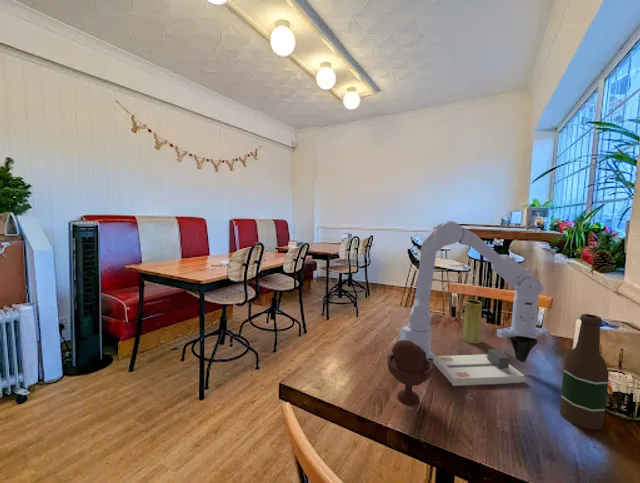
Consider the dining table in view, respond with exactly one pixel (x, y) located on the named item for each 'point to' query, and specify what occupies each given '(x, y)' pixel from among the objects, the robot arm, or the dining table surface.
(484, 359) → the fader panel
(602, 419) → the beer bottle
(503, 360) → the fader knob
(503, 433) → the dining table surface
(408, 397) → the ice cream bowl
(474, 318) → the vase
